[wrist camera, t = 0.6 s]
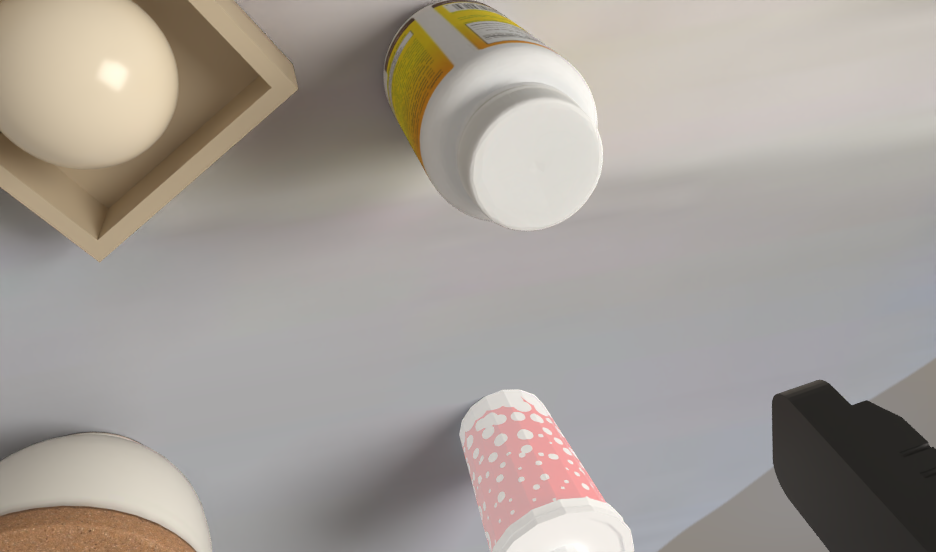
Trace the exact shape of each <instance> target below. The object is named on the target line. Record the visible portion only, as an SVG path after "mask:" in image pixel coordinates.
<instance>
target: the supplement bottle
mask: <svg viewBox="0 0 936 552" xmlns="http://www.w3.org/2000/svg"><path fill="white" fill-rule="evenodd" d="M383 80H384V88H385V93H386V97H387V100H388V103H389V105H390V107H391V109H392V111H393V113H394V115H395V117H396V119H397V121H398V123H399V124H400V126H401V128H402V130H403V132H404V134H405V135H406V137H407V139H408V141H409V143H410V145H411V146H412V148H413V150H414V152H415V154H416V155H417V157H418V159H419V161H420V163H421V165H422V166H423V168H424V170H425V172H426V174H427V175H428V177H429V179H430V181H431V182H432V184H433V185H434V187H435V188H436V190H437V191H438V192H439V193H440V195H441V196H442V197H443V198H444V199H445V200H446V201H447V202H448V203H450V204H451V205H452V206H453V207H455V208H456V209H458V210H459V211H461V212H463V213H465V214H467V215H469V216H472V217H475V218H478V219H481V220H486V221H493V222H495V223H496V224H498V225H500V226H503V227H506V228H508V229H512V230H518V231H535V230H541V229H545V228H548V227H551V226H554V225H556V224H558V223H560V222H562V221H564V220H566V219H567V218H569V217H570V216H571V215H573V214H574V213H575V212H576V211H578V210H579V209H580V208H581V207H582V206H583V205H584V203H585V202H586V201H587V200H588V198H589V197H590V195H591V194H592V192H593V191H594V189H595V187H596V184H597V182H598V180H599V177H600V174H601V169H602V163H603V147H602V142H601V138H600V135H599V132H598V130H597V127H598V126H597V112H596V106H595V103H594V99H593V96H592V93H591V91H590V88H589V87H588V85H587V83H586V81H585V80H584V78H583V77H582V76H581V74H580V73H579V72H578V71H577V70H576V69H575V67H574V66H573V65H571V64H570V63H569V62H568V61H567V60H566V59H565V58H563V57H562V56H561V55H559V54H558V53H556V52H555V51H554V50H552V49H551V48H549V47H548V46H546V45H545V44H544V43H542V42H541V41H539V40H538V39H537V38H535V37H534V36H532V35H531V34H530V33H528V32H527V31H525V30H524V29H523V28H521V27H519V26H518V25H517V24H515V23H514V22H512V21H511V20H510V19H508V18H507V17H505V16H504V15H503V14H501V13H500V12H498V11H497V10H495V9H493V8H491V7H490V6H487V5H485V4H483V3H480V2H477V1H473V0H443V1H440V2H436V3H433V4H431V5H428V6H426V7H424V8H423V9H421V10H419V11H418V12H416V13H415V14H414V15H412V16H411V17H410V18H409V19H408V20H407V21H406V22H405V23H404V24H403V25H402V26H401V27H400V29H399V30H398V31H397V33H396V34H395V36H394V38H393V40H392V42H391V44H390V46H389V49H388V51H387V54H386V57H385V62H384V72H383Z"/></svg>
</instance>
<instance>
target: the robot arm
mask: <svg viewBox="0 0 936 552" xmlns="http://www.w3.org/2000/svg"><path fill="white" fill-rule="evenodd" d="M772 436H773V464H774V469H775V472H776V475H777V478H778V480H779V483H780V485H781V487H782V489H783V490H784V492H785V494H786V496H787V497H788V498H789V500H790V501H791V503H792V504H793V505H794V506H795V508H796V509H797V510H798V511H799V513H800V514H801V515H802V516H803V518H804V519H805V520H806V522H807V523H808V524H809V526H810V527H811V528H812V529H813V531H814V532H815V533H816V535H817V536H818V537H819V538H820V540H821V541H822V542H823V543H824V545H825V546H826V547H827V549H828V550H829V551H830V552H936V449H935V448H934V447H932V448H931V447H930V446H929V444H928V442H927V441H926V440H925V439H924V438H923V437H922V436H921V435H920V434H919V433H918V432H917V431H915V429H913V428H912V427H911V426H910V425H909V424H908V423H907V422H906V421H905V420H904V419H903V418H902V417H900V416H898V415H895V414H894V413H892V412H890V411H887V410H885V409H883V408H881V407H879V406H877V405H875V404H873V403H871V402H869V401H867V400H866V401H863V402H860V403H857V404H854V405H851V404H849V403H848V402H847V401H846V400H845V399H844V398H843V397H842V396H841V395H840V394H839V393H838V392H837V391H836V390H835V389H834V388H833V387H832V386H831V385H830V384H829V383H827V382H826V381H823V380H816V381H813V382H811V383H808V384H805V385H802V386H799V387H796V388H793V389H790V390H787V391H785V392H782V393H779V394H776V395H775V396H774V397H773V400H772Z"/></svg>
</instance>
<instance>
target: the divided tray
mask: <svg viewBox="0 0 936 552" xmlns="http://www.w3.org/2000/svg"><path fill="white" fill-rule="evenodd" d="M2 1H3V0H0V3H1V2H2ZM131 1H133V2H134V3H136V4H137V5H138V6H139V7H141V8H142V9H143V10H144V11H145V12H146V13H147V14H148V15H149V16H150V17H151V18H152V19H153V20H154V21H155V23H156V24H157V25H158V27H159V28H160V30H161V31H162V32H163V34H164V35H165V37H166V39H167V41H168V43H169V45H170V47H171V49H172V52H173V54H174V57H175V61H176V65H177V69H178V79H179V89H178V99H177V105H176V108H175V111H174V114H173V117H172V119H171V121H170V123H169V125H168V126H167V128H166V130H165V131H164V133H163V134H162V135H161V137H160V138H159V139H158V140H157V141H156V142H155V143H154V144H153V145H152V146H151V147H150V148H149V149H147V150H146V151H145V152H143V153H142V154H141V155H139V156H137V157H135V158H134V159H132V160H130V161H127V162H125V163H122V164H119V165H116V166H112V167H108V168H101V169H88V170H82V169H71V168H66V167H61V166H57V165H54V164H51V163H48V162H45V161H43V160H40V159H38V158H36V157H34V156H32V155H30V154H29V153H27V152H25V151H23V150H22V149H21V148H19V147H18V146H16V145H15V144H14V143H13V142H11V141H10V140H9V139H8V138H7V137H6V136H5V135H4V134H3V133H2V132H1V131H0V187H1V188H2V189H4V190H5V191H6V192H8V193H9V194H10V195H12V196H13V197H14V198H15V199H17V200H18V201H19V202H21V203H22V204H23V205H25V206H26V207H27V208H29V209H30V210H31V211H33V212H34V213H35V214H37V215H38V216H39V217H41V218H42V219H43V220H44V221H46V222H47V223H48V224H50V225H51V226H52V227H54V228H55V229H56V230H58V231H59V232H60V233H62V234H63V235H64V236H66V237H67V238H68V239H70V240H71V241H72V242H73V243H75V244H76V245H77V246H79V247H80V248H81V249H83V250H84V251H85V252H87V253H88V254H89V255H91V256H92V257H93V258H95V259H96V260H97V261H99V262H101V261H102V260H103V259H104V258H105V257H106V256H107V255H109V254H110V253H111V252H112V251H113V250H114V249H116V248H117V247H118V246H119V245H120V244H121V243H122V242H124V241H125V240H126V239H127V238H128V237H129V236H130V235H132V234H133V233H134V232H135V231H136V230H137V229H138V228H140V227H141V226H142V225H143V224H144V223H145V222H147V221H148V220H149V219H150V218H151V217H152V216H153V215H155V214H156V213H157V212H158V211H159V210H160V209H161V208H163V207H164V206H165V205H166V204H167V203H168V202H169V201H171V200H172V199H173V198H174V197H175V196H176V195H178V194H179V193H180V192H181V191H182V190H183V189H184V188H186V187H187V186H188V185H189V184H190V183H191V182H192V181H194V180H195V179H196V178H197V177H198V176H199V175H200V174H202V173H203V172H204V171H205V170H206V169H207V168H209V167H210V166H211V165H212V164H213V163H214V162H215V161H217V160H218V159H219V158H220V157H221V156H222V155H223V154H225V153H226V152H227V151H228V150H229V149H230V148H231V147H233V146H234V145H235V144H236V143H237V142H238V141H240V140H241V139H242V138H243V137H244V136H245V135H246V134H248V133H249V132H250V131H251V130H252V129H253V128H254V127H256V126H257V125H258V124H259V123H260V122H261V121H262V120H264V119H265V118H266V117H267V116H268V115H269V114H271V113H272V112H273V111H274V110H275V109H276V108H277V107H279V106H280V105H281V104H282V103H283V102H284V101H285V100H287V99H288V98H289V97H290V96H291V95H292V94H293V93H295V92H296V91H297V90H298V86H297V81H296V77H295V72H294V68H293V64H292V63H291V62H290V61H289V60H288V59H287V58H286V56H285V55H284V54H283V53H282V52H281V51H280V50H279V49H278V48H277V47H276V46H275V45H274V43H273V42H272V41H271V40H270V39H269V38H268V37H267V36H266V35H265V34H264V33H263V31H262V30H261V29H260V28H259V27H258V26H257V25H256V24H255V23H254V22H253V21H252V20H251V18H250V17H249V16H248V15H247V14H246V13H245V12H244V11H243V10H242V9H241V8H240V7H239V5H238V4H237V3H236V2H235V1H234V0H131Z"/></svg>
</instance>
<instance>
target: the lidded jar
mask: <svg viewBox="0 0 936 552" xmlns="http://www.w3.org/2000/svg"><path fill="white" fill-rule="evenodd" d="M0 552H212V545H211V538H210V531H209V527H208V524H207V520H206V517H205V514H204V510H203V507H202V503H201V502H200V500H199V498H198V496H197V494H196V492H195V491H194V489H193V487H192V485H191V484H190V482H189V481H188V479H187V478H186V477H185V476H184V475H183V473H182V472H181V471H180V470H179V469H178V468H177V467H176V466H175V465H173V464H172V463H171V462H170V461H169V460H168V459H166V458H165V457H164V456H162V455H161V454H159V453H157V452H156V451H154V450H153V449H151V448H148V447H146V446H144V445H142V444H140V443H139V442H137V441H134V440H132V439H130V438H127V437H124V436H121V435H117V434H111V433H105V432H84V433H77V434H71V435H67V436H64V437H58V438H53V439H49V440H45V441H42V442H39V443H36V444H33V445H31V446H29V447H26V448H24V449H22V450H20V451H18V452H16V453H14V454H11V455H9V456H8V457H6V458H5V459H3V460H2V461H0Z"/></svg>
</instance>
